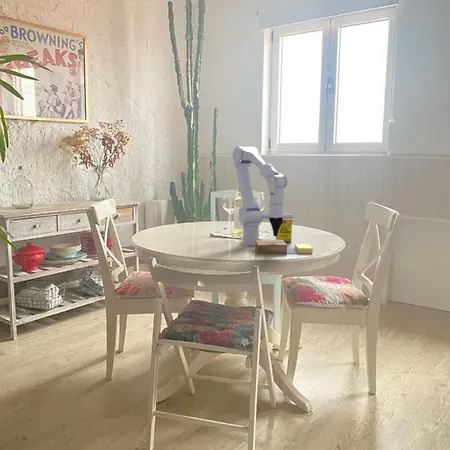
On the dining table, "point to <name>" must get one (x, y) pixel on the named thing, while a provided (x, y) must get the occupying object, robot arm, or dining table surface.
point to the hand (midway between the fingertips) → (275, 235)
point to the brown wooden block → (270, 247)
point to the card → (303, 248)
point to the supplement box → (285, 231)
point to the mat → (294, 251)
